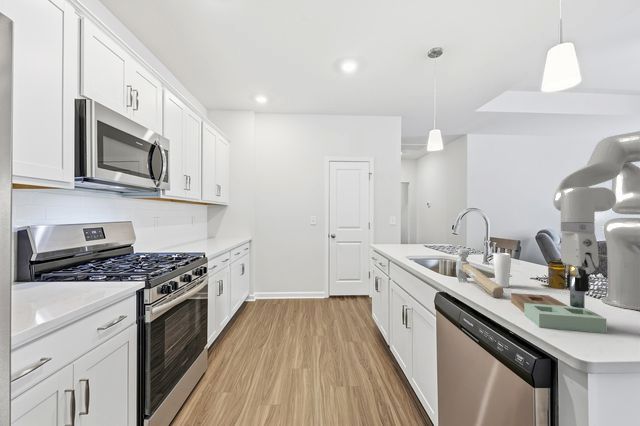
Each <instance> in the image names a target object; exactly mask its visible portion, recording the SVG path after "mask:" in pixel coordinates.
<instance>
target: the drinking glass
mask: <svg viewBox="0 0 640 426" xmlns="http://www.w3.org/2000/svg"><path fill="white" fill-rule="evenodd" d="M492 260H493V261H492V262H493V271H494V281H495V283H496V284H498V285H499V286H501V287H502V288H503V289H505V288H509V287H510V275H511V269H512V268H511V267H512V266H511V265H512V256H511V254H510V253H506V252H493V258H492Z"/></svg>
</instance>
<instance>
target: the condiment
mask: <svg viewBox="0 0 640 426" xmlns="http://www.w3.org/2000/svg"><path fill="white" fill-rule="evenodd" d="M548 263H549V264H548V267H547V272H548V273H547V274H548V275H547V278H548V280H547V282H548V283H547V284H543V283H542V284H541V283H540V286H542V287H543V288H544V289H551V290H562V291H570V288H569V289H568V288H567V274H566V268H565V266H564V265H563V263H562V261H561V260H554V259H553V260H549V262H548ZM566 288H567V289H566Z"/></svg>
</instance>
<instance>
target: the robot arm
mask: <svg viewBox="0 0 640 426" xmlns="http://www.w3.org/2000/svg"><path fill="white" fill-rule="evenodd" d="M638 162H640V130H639V131H634V132H627V133H622V134H616V135H611V136H607V137H605V138H602V139H601V140H600V141H599V142H597V144H596V145H595V146H594V150H593V151H592V153H591V155H590V157H589V160H588V161H587V163H586V165H584V166H583V167H580V168H579V169H577V170H574V172H572V173H570V174H569V175H567V176H565V177H564V179H562V180H561V181H560V183H559V185H558V187H557V189H556V191H555V193H554V196H553V198H552V199H553V206H554V208H555V209H556V210H557V211H558V212H559V211H560V233H561V238H560V261H562V263H563V265H564V267H565V268H566V288H567V289H568V288H569V289H570V266H575V267H576V277H575V291H581V292H585V293H588V292H590V278H591V274H593V273H594V272H595V271H596V270H595V269H597V268H599V266H600V265H599V264H600V262H599V258H600V257H599V248H598V242H597V236H596V232H595V229H596V228H595V226H596V225H595V224H596V223H595V221H596V218H595V217H596V215H595V213H599V212H600V213H602V212H607V211H610V210H612V211H613V212H614V213H616V214H618V215H632V216H633V215H636V216H637V215H640V167H639V166H637V165H636V164H634V163H638ZM608 181H611V189H610V188H607V187H602V186H601V187H599V186H596V185H599V184H602V183H605V182H608ZM593 186H596V187H593ZM603 234H604V239H605V244H606V251H607V252H606V253H607V254H606V255H607V258H606V259H607V260H606V261H607V296H603V297H601V302H602V303H604V304H607V305H609V306H610V305H611V306H613V307H616V308H623V309H628V310H636V311H637V310H638V311H640V249H639V248H638V246H640V217H617V218H611V219H609V220H607V221H605V223H604V225H603ZM581 266H583V267H581ZM580 269H584V270H582V271H581V272H580Z"/></svg>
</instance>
